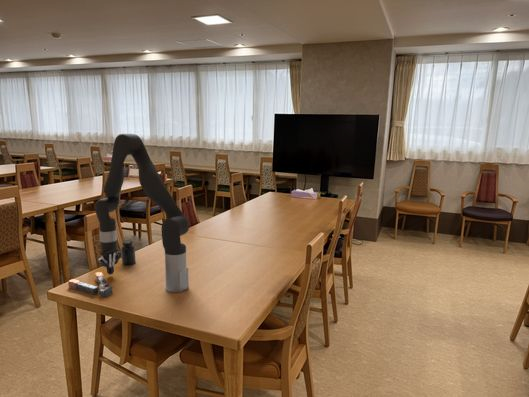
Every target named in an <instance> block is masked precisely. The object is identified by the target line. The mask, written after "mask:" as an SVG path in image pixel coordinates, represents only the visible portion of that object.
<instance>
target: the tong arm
mask: <svg viewBox="0 0 529 397" xmlns="http://www.w3.org/2000/svg"><path fill="white" fill-rule="evenodd" d="M94 274H95V275H94V276H95V280H96V283H97V284H98V286H99V285H100V284H105V288H106V287H108V286H109V284H108V282H107V281H106V279H105V277H104V274H103V273H102V271H98V272H95V273H94Z"/></svg>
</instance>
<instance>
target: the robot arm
mask: <svg viewBox="0 0 529 397" xmlns="http://www.w3.org/2000/svg"><path fill="white" fill-rule="evenodd" d="M112 146H113V147H112V148H113V149H112V153H111V158H110V159H111V160H110V167H109V171H108V175H107V178H106V179H105V180H106V181H105V183H104V187H103V193H104V194H105V195H106V197H103V198H100V199H98V200H97V201H95V204H94V212H95V215H96V218H97V221H98V223H99V245H100V247H99V248H100V251H101V252H100V257H99V258H96V261H97V262H98V263H99V264H100V265H101V266H102V267H104V268H106V274H108V275H110V276H111V275H113V274H114V272H115V268H114V266H115V265H117V264H118V263H119V260H120V258H121V257H122V256H121V254H122V253H121V251H118V234H117V233H118V232H117V225H116V219H115V217H112V216H110V213H112V212H115V210H117V208H118V207H119V203H120V192H121V190H122V188H123V187H122V186H123V184H124V182H125V175H124V164H125V161H126V158H127V157H128V156H129V155H130V156H131V157H132V159H133V160H134V162H135V163H136V164H135V165H136V166H137V169H138V181H139V185H140V186H141V188H142V190H143V192H144V194H145V195H146V197H147V198H148V199H149V200H150V201H151V202H152V203H154V204H156V205H157V206H158V207H159V208H161V210H162V211H163V213H165V215H166V217H167V218H165V219H164V220H163V222H162V223H161V239H162V240H161V241H162V246H163V249H164V265H165V266H164V268H165V270H164V271H165V290H166V291H167V292H169V293H182V292H184V291H186V290H187V289H188V288H189V286H190V285H189V279H190V278H189V268H188V267H187V246H186V244H185V243H183V242H182V241H181V236H183V235H186V234H187V233H188V231H189V229H190V223H189V220H188V218H187V217H186V215H185V214H184V213H183V212H182V210H181V209H180V207H179V206H178V204H177V203H176V201H175V200H174V198H173V196H172V195H171V193H170V191H169V190H168V188H167V186H166V184H165V183H164V181H163V180H164V179H163V178H162V177H161V176H160V174H159V171H157V169H156V166H155V164H154V162H153V161H152V160H151V158H150V155H149V153H148V151H147V149H146V146H145V144H144V142H143V140H142V139H141V137H140V136H139V135H137V134H135V133H121V134H120V133H119V134H118V135H117V136H116V138H115V139H114V143H113V145H112Z"/></svg>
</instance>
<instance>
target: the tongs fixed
mask: <svg viewBox="0 0 529 397" xmlns="http://www.w3.org/2000/svg"><path fill="white" fill-rule="evenodd" d="M67 282H68V288H69V289H71V290H75V291H79V292H83V293H86V294H89V295H92V296H95V295H98V294H99V297H100V298H106V297H108V296H110V295H112V294H113V286H110V285H108V287H106V288H105V284H100V285H99V284H98V286H96V285H93V284H90V283H86V282H83V281H81V280H79V279H75V278H72V279H69V280H68V281H67Z"/></svg>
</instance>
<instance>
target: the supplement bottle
mask: <svg viewBox="0 0 529 397" xmlns="http://www.w3.org/2000/svg"><path fill="white" fill-rule="evenodd" d="M135 248H136V247H135V246H134V245H133V241H132V240H131V239H127V240H124V241H122V246H121V248H120V252H121V253H122V254H121V256H120V257H121V264H122V265H123V266H124V265H125V266H131V265H133V264H135V263H136V249H135Z"/></svg>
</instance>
